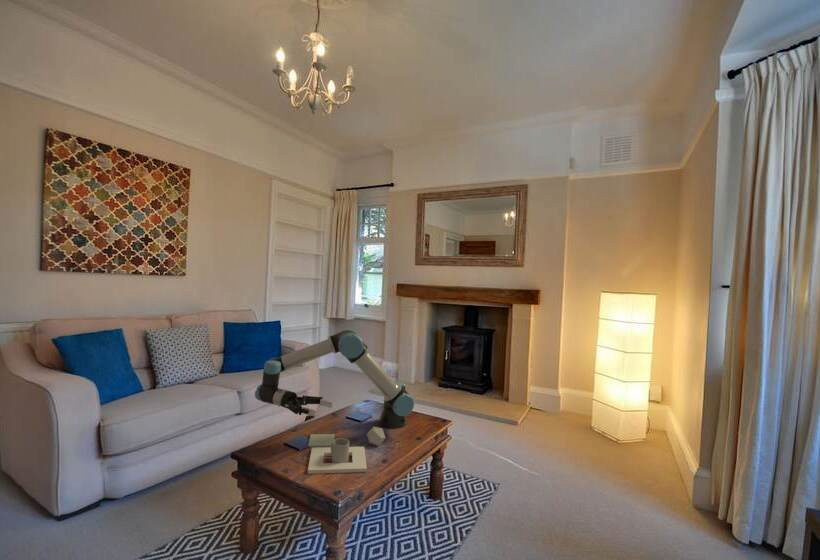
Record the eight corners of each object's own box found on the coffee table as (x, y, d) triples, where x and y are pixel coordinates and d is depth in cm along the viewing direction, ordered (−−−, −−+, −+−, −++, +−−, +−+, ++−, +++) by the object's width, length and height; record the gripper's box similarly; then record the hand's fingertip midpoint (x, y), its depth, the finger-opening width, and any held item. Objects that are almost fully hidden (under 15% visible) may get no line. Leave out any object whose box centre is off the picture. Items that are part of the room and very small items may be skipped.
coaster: (334, 435, 186) (334, 434, 186) (334, 446, 174) (334, 444, 174) (310, 436, 184) (310, 434, 184) (308, 446, 172) (308, 445, 172)
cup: (338, 468, 155) (339, 447, 155) (324, 459, 161) (325, 439, 161) (351, 462, 160) (352, 442, 160) (337, 454, 167) (338, 434, 167)
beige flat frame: (364, 449, 173) (364, 446, 173) (366, 471, 153) (366, 468, 153) (311, 450, 168) (312, 447, 168) (307, 473, 149) (307, 470, 149)
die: (387, 444, 181) (382, 424, 186) (385, 442, 174) (380, 422, 179) (371, 450, 181) (366, 430, 185) (369, 448, 173) (364, 427, 178)
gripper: (300, 400, 183) (337, 409, 176) (266, 414, 160) (307, 426, 153) (302, 385, 183) (339, 394, 176) (268, 397, 160) (309, 408, 153)
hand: (324, 409), depth 164 cm, fingers open, 13 cm apart
